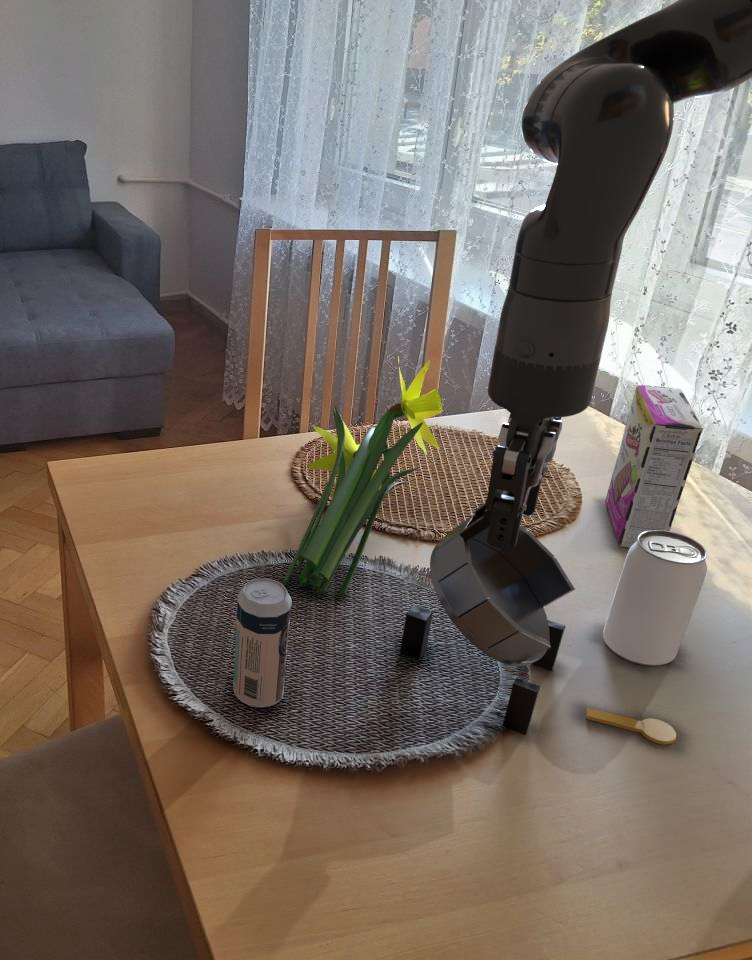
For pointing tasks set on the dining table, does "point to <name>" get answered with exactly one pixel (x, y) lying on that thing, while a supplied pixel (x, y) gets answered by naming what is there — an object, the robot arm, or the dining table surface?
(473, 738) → the dining table surface
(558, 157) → the robot arm
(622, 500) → the candy bar box
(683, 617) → the can
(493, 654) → the bowl
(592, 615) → the dining table surface
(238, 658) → the beer can
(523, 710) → the bowl stand
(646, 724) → the spoon
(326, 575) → the daffodil flowers
